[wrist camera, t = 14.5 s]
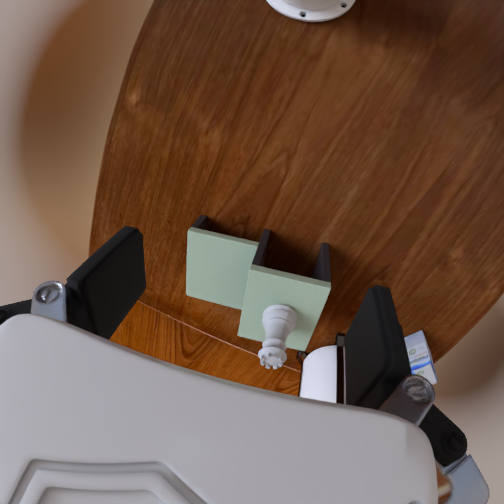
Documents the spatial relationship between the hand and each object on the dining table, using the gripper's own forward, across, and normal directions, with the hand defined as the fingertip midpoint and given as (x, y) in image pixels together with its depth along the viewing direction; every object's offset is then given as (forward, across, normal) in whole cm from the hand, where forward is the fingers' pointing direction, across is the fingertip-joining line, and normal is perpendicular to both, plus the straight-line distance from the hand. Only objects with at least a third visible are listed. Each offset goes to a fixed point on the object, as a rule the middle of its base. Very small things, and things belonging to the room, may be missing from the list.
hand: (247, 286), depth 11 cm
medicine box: (+31, -33, +30) cm, 54 cm away
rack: (+30, +2, +19) cm, 36 cm away
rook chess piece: (+20, -3, +19) cm, 27 cm away
